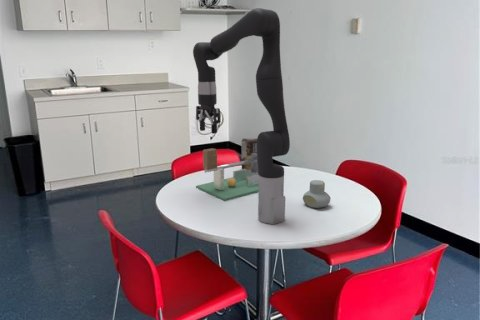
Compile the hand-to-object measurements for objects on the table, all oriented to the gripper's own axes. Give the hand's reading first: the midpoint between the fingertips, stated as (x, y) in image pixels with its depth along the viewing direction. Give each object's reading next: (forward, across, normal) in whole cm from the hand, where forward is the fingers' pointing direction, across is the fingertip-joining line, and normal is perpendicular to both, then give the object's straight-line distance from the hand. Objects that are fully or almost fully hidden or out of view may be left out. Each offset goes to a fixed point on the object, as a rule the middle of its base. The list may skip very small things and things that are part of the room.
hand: (208, 131), depth 179 cm
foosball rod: (+26, 0, -14) cm, 29 cm away
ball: (+24, 0, -12) cm, 27 cm away
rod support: (+28, 0, -27) cm, 39 cm away
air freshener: (+28, -38, -26) cm, 54 cm away
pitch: (+28, 0, -12) cm, 30 cm away
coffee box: (+27, +18, -38) cm, 50 cm away
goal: (+26, 0, -20) cm, 33 cm away
